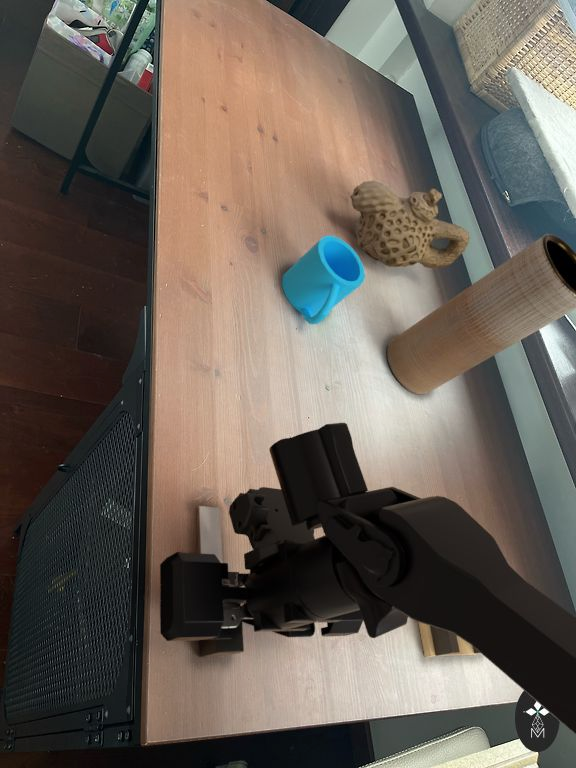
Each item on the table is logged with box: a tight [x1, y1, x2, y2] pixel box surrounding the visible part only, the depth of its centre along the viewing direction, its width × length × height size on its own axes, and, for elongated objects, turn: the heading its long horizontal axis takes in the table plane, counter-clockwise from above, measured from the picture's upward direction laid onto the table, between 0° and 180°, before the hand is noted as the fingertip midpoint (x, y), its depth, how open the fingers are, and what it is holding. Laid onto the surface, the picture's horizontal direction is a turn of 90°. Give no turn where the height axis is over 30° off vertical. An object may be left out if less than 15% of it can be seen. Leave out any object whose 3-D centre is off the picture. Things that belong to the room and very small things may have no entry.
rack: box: [417, 621, 482, 658], centre depth 75 cm, size 10×8×4 cm
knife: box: [196, 505, 245, 658], centre depth 59 cm, size 14×3×3 cm, turn 7°
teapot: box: [349, 180, 470, 269], centre depth 100 cm, size 21×12×15 cm, turn 81°
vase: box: [386, 233, 576, 396], centre depth 86 cm, size 10×10×28 cm
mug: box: [281, 235, 366, 325], centre depth 85 cm, size 12×8×8 cm
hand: (217, 614), depth 57 cm, fingers open, 4 cm apart
